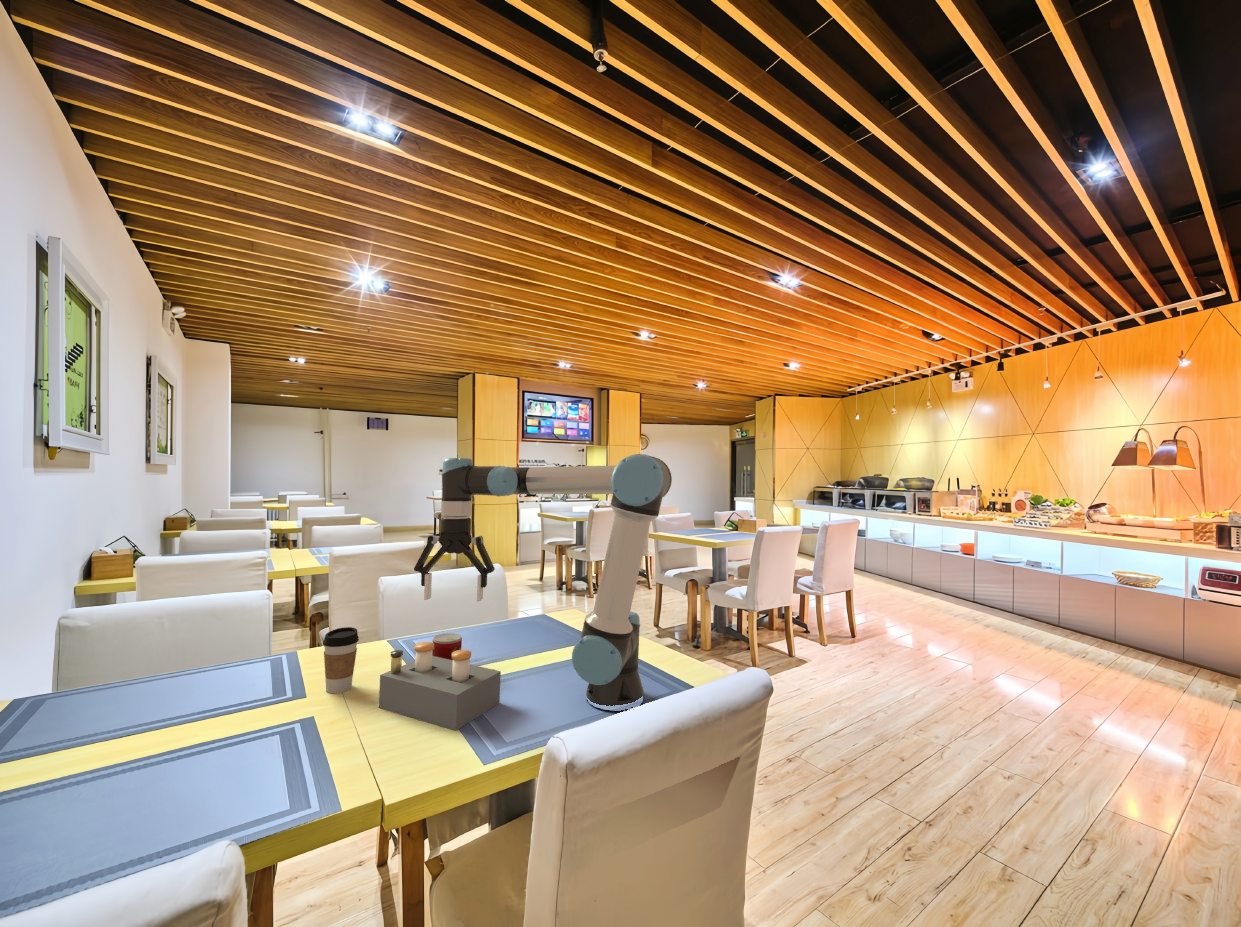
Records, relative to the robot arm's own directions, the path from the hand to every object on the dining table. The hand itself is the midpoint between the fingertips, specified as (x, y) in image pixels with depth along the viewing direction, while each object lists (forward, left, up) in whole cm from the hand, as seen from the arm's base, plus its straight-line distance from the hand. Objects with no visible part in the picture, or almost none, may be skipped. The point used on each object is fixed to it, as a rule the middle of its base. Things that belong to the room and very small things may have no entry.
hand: (453, 599), depth 133 cm
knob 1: (+5, +4, -19) cm, 20 cm away
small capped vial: (+9, +9, -17) cm, 22 cm away
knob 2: (-7, +4, -19) cm, 21 cm away
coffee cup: (+29, +9, -26) cm, 40 cm away
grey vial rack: (-1, +4, -25) cm, 26 cm away
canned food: (+11, -11, -26) cm, 30 cm away
